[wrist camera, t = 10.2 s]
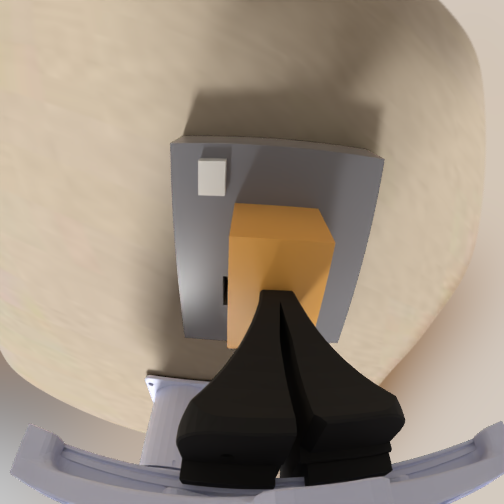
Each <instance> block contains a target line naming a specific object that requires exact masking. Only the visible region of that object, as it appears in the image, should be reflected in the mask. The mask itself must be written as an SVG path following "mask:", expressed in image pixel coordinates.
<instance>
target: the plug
mask: <svg viewBox="0 0 504 504" xmlns="http://www.w3.org/2000/svg"><path fill="white" fill-rule="evenodd" d="M334 248H335V241H334V239H333V237H332V235H331V233H330V231H329V229H328V227H327V225H326V223H325V221H324V219H323V217H322V215H321V213H320V211H319V209H316V208H303V207H290V206H276V205H261V204H244V203H235V205H234V210H233V216H232V222H231V228H230V234H229V258H228V310H227V348H232V349H237V348H238V346H239V345H240V343H241V341H242V340H243V338H244V336H245V334H246V332H247V330H248V328H249V326H250V324H251V322H252V320H253V317H254V315H255V312H256V309H257V306H258V303H259V295H260V291H262V290H284V291H293V292H294V293H295V295H296V297H297V299H298V301H299V302H300V304H301V306H302V307H303V309H304V311H305V312H306V314H307V315H308V317H309V318H310V320H311V321H312V323H313V324H314V325H315V327H316V323H317V319H318V315H319V312H320V308H321V304H322V300H323V296H324V292H325V287H326V283H327V279H328V275H329V270H330V266H331V261H332V257H333V252H334Z"/></svg>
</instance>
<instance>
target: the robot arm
mask: <svg viewBox="0 0 504 504" xmlns="http://www.w3.org/2000/svg"><path fill="white" fill-rule="evenodd" d="M145 381H146V384H147V387H148V389H149V392H150V395H151V398H152V400H153V403H154V404H153V408H152V412H151V416H150V420H149V424H148V429H147V433H146V437H145V442H144V446H143V451H142V455H141V460H140V464H139V465H137V464H133V463H128V462H124V461H120V460H116V459H112V458H109V457H105V456H102V455H98V454H94V453H92V452H88V451H85V450H82V449H79V448H76V447H73V446H70V445H68V444H65V443H64V442H63V440H62V439H61V438H60V437H59V436H57V435H56V434H54V433H53V432H51V431H48V430H46V429H43V428H41V427H39V426H36V425H34V424H32V423H29V424H28V427H27V429H26V431H25V434H24V436H23V439H22V441H21V444H20V446H19V449H18V451H17V454H16V457H15V459H14V462H13V465H12V467H11V470H10V474H11V475H12V476H14V477H15V478H17V479H18V480H20V481H22V482H23V483H25V484H26V485H28V486H29V487H31V488H33V489H34V490H36V491H38V492H39V493H41V494H43V495H45V496H47V497H49V498H51V499H53V500H55V501H57V502H60V503H62V504H450V503H452V502H454V501H457V500H459V499H461V498H463V497H465V496H467V495H469V494H471V493H473V492H475V491H477V490H479V489H481V488H482V487H484V486H486V485H488V484H489V483H491V482H492V481H494V480H495V479H497V478H498V477H500V476H501V475H503V474H504V424H503V422H502V421H500V422H498V423H495V424H493V425H491V426H488V427H486V428H485V429H483V430H482V431H480V432H479V433H478V434H477V435H476V436H475V437H474V438H473V439H471V440H468V441H466V442H463V443H460V444H458V445H455V446H452V447H449V448H447V449H444V450H441V451H438V452H435V453H431V454H428V455H424V456H421V457H418V458H414V459H410V460H406V461H402V462H399V463H394V464H391V461H390V456H389V452H391V450H392V448H391V444H390V441H391V440H392V439H393V438H394V436H396V434H397V433H398V432H399V431H400V430H401V428H402V427H403V426H404V423H405V418H404V414H403V412H402V409H401V406H400V404H399V402H398V400H397V397H396V396H395V395H393V394H391V393H390V392H388V391H386V390H385V389H383V388H381V387H379V386H378V385H376V384H375V383H373V382H372V381H370V380H369V379H367V378H366V377H365V376H363V375H362V374H361V373H359V372H358V371H357V370H356V369H355V368H353V367H352V366H351V365H350V364H349V363H347V362H346V361H345V360H344V359H343V358H342V357H341V356H340V355H339V354H338V353H337V352H336V351H335V350H334V349H333V348H332V347H331V346H330V344H329V343H328V342H327V341H326V340H325V338H324V337H323V336H322V335H321V333H320V332H319V331H318V330H317V328H316V327H315V325H314V324H313V323H312V321H311V320H310V318H309V317H308V315H307V314H306V312H305V311H304V309H303V307H302V306H301V304H300V302H299V301H298V299H297V297H296V295H295V293H294V292H293V291H284V290H262V291H260V295H259V303H258V306H257V309H256V312H255V315H254V317H253V320H252V322H251V324H250V326H249V328H248V330H247V332H246V334H245V336H244V338H243V340H242V341H241V343H240V345H239V346H238V348H237V349H236V351H235V352H234V354H233V355H232V357H231V358H230V359H229V361H228V362H227V363H226V365H225V366H224V367H223V368H222V370H221V371H220V372H219V373H218V374H217V375H216V376H215V377H214V378H213V379H212V381H211V382H207V381H196V380H186V379H177V378H169V377H161V376H154V375H147V376H146V377H145ZM279 470H280V478H276V476H277V474H278V472H279Z"/></svg>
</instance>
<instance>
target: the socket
mask: <svg viewBox="0 0 504 504" xmlns="http://www.w3.org/2000/svg"><path fill="white" fill-rule="evenodd" d="M170 152H171V186H172V207H173V224H174V238H175V251H176V263H177V274H178V284H179V293H180V302H181V311H182V319H183V327H184V334H185V338H197V339H210V340H225V341H227V310H228V280H226V276H228V258H229V234H230V228H231V222H232V216H233V210H234V205H235V203H244V204H261V205H276V206H290V207H303V208H316V209H319V211H320V213H321V215H322V217H323V219H324V221H325V223H326V225H327V227H328V229H329V231H330V233H331V235H332V237H333V239H334V241H335V248H334V252H333V257H332V261H331V266H330V270H329V275H328V279H327V283H326V287H325V292H324V296H323V300H322V304H321V308H320V312H319V315H318V319H317V323H316V328H317V330H318V331H319V332H320V333H321V335H322V336H323V337H324V338H325V340H326V341H327V342H328V343H338V340H339V337H340V334H341V331H342V328H343V325H344V322H345V319H346V316H347V313H348V310H349V307H350V303H351V300H352V297H353V293H354V290H355V287H356V283H357V280H358V276H359V272H360V269H361V265H362V261H363V258H364V254H365V250H366V246H367V242H368V238H369V234H370V229H371V225H372V221H373V216H374V212H375V207H376V202H377V197H378V193H379V187H380V182H381V177H382V171H383V166H384V160H385V159H383V158H382V157H380V156H378V155H376V154H374V153H373V152H371V151H369V150H367V149H362V148H355V147H348V146H341V145H334V144H326V143H317V142H308V141H298V140H286V139H274V138H258V137H237V136H182V137H180V138H178V139H177V140H175V141H173V142H172V143H170Z"/></svg>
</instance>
